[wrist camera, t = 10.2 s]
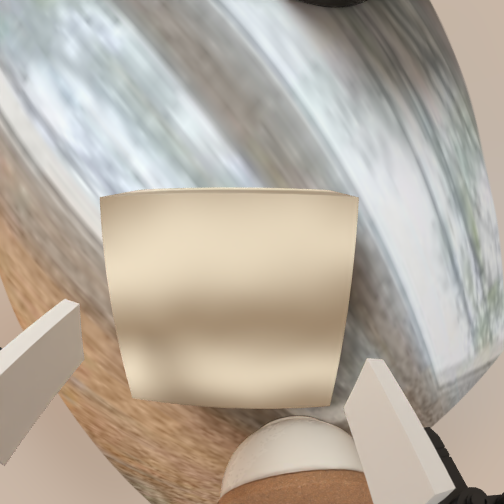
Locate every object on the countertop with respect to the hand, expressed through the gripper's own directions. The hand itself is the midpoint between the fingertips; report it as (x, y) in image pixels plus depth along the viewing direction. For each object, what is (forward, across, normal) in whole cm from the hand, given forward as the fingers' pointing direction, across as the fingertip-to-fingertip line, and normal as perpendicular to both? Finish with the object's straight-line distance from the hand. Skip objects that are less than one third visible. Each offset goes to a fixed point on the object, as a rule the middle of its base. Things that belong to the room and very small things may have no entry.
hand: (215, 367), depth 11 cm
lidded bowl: (+10, +8, -15) cm, 20 cm away
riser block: (+10, 0, 0) cm, 10 cm away
